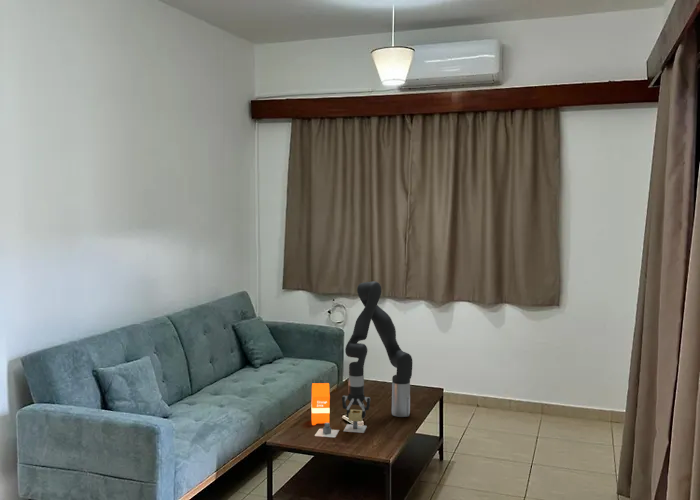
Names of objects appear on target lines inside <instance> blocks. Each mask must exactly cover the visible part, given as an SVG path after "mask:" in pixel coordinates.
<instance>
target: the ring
mask: <svg viewBox="0 0 700 500" xmlns="http://www.w3.org/2000/svg"><path fill="white" fill-rule="evenodd" d="M362 411H363V410H362V409H350V412H349V414H348V416H347V418H348V422H353V421H358V422H362V421H363V419H362Z"/></svg>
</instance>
